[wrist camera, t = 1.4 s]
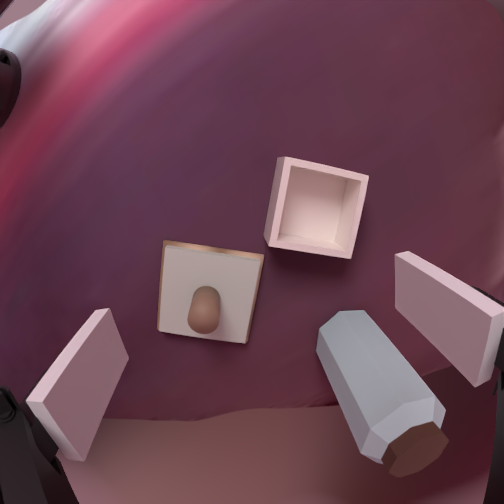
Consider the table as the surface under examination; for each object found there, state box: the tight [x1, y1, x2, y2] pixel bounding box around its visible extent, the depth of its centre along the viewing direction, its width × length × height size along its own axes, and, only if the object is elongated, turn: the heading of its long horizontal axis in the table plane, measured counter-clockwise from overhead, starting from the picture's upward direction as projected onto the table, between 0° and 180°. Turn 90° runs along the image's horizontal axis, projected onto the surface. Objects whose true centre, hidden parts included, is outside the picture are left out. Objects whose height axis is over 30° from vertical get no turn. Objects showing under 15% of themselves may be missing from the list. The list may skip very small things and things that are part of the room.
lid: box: [159, 245, 261, 343], centre depth 38 cm, size 12×12×7 cm
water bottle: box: [316, 310, 449, 478], centre depth 33 cm, size 10×10×25 cm
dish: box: [264, 157, 369, 259], centre depth 37 cm, size 10×10×6 cm
